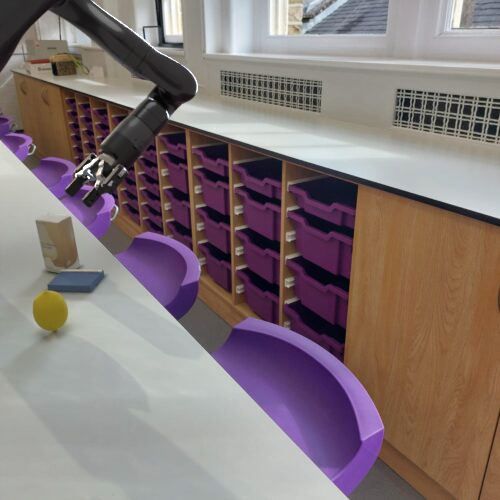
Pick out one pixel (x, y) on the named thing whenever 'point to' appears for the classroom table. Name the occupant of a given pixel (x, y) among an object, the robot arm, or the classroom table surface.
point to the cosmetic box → (57, 242)
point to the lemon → (50, 310)
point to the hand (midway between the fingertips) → (76, 199)
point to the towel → (76, 280)
